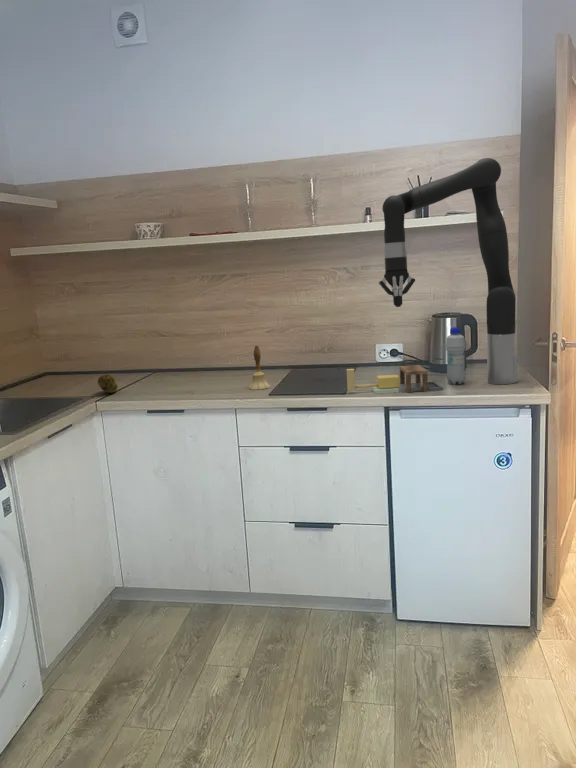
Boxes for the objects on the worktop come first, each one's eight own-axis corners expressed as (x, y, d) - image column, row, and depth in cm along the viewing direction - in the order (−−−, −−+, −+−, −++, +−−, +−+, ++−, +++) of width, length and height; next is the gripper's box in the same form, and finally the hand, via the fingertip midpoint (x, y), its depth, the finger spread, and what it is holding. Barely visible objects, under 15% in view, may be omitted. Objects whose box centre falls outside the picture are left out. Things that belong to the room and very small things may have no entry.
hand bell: (245, 387, 241) (242, 346, 238) (266, 384, 244) (263, 343, 241) (252, 391, 234) (249, 348, 231) (273, 388, 237) (270, 345, 234)
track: (422, 385, 223) (422, 382, 223) (427, 390, 215) (427, 386, 215) (371, 389, 223) (371, 385, 223) (375, 393, 215) (375, 390, 215)
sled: (396, 384, 221) (396, 365, 220) (399, 387, 216) (399, 367, 215) (347, 387, 221) (346, 368, 220) (348, 390, 216) (347, 370, 215)
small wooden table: (419, 384, 225) (419, 364, 224) (427, 391, 213) (427, 370, 212) (400, 386, 225) (399, 366, 224) (407, 393, 213) (406, 372, 212)
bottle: (452, 386, 219) (451, 328, 216) (442, 382, 226) (441, 327, 222) (469, 384, 221) (469, 327, 217) (459, 380, 227) (458, 325, 224)
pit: (434, 384, 225) (434, 381, 224) (442, 390, 214) (442, 387, 214) (421, 385, 224) (421, 382, 224) (428, 391, 214) (428, 388, 214)
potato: (125, 389, 253) (123, 370, 251) (113, 396, 240) (111, 375, 239) (105, 390, 254) (103, 370, 252) (92, 397, 241) (90, 376, 240)
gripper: (412, 254, 221) (414, 304, 224) (374, 258, 220) (377, 307, 224) (417, 254, 213) (419, 305, 217) (378, 257, 213) (381, 309, 216)
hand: (398, 306), depth 220 cm, fingers closed
